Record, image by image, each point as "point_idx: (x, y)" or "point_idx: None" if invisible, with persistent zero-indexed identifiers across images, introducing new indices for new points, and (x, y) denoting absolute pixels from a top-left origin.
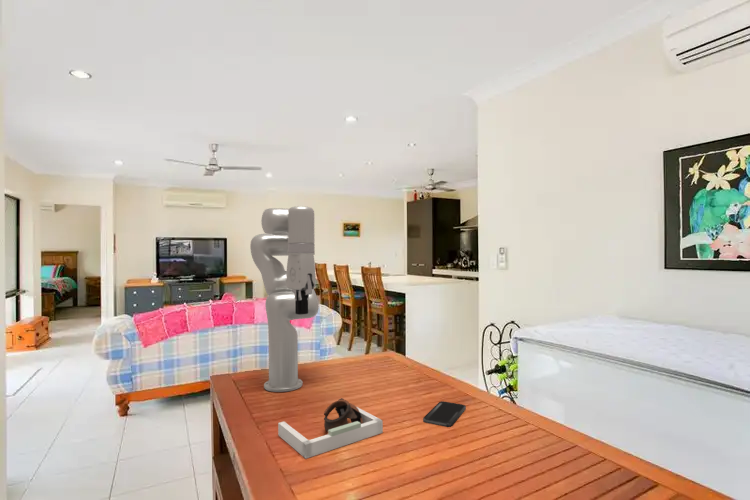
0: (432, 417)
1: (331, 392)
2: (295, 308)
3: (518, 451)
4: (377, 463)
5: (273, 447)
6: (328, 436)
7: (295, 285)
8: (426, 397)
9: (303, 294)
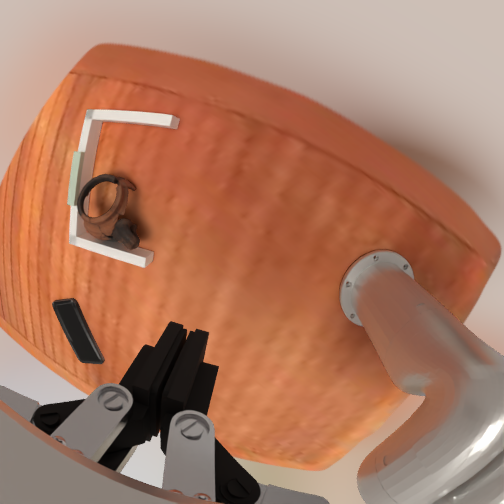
0: (73, 312)
1: (266, 322)
2: (201, 353)
3: (8, 285)
4: (43, 172)
5: (153, 93)
6: (80, 148)
7: (3, 456)
8: None
9: (51, 411)
